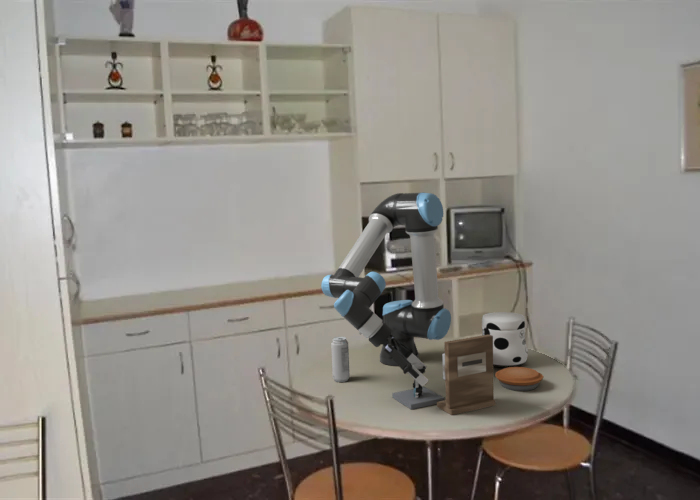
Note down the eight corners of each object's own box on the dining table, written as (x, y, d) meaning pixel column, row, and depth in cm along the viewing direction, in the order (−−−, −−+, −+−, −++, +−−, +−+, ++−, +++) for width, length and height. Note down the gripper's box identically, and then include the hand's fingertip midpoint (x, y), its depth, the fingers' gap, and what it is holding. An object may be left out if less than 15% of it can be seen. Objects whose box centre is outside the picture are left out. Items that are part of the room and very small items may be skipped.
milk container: (537, 364, 231) (537, 316, 229) (505, 373, 222) (505, 323, 220) (502, 354, 245) (501, 309, 243) (470, 363, 236) (469, 316, 234)
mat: (392, 397, 202) (392, 393, 202) (424, 391, 207) (424, 386, 207) (411, 409, 191) (410, 404, 191) (444, 402, 196) (444, 397, 196)
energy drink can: (339, 376, 226) (337, 335, 224) (353, 378, 222) (351, 337, 221) (329, 381, 221) (327, 339, 219) (343, 383, 218) (341, 341, 216)
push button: (424, 399, 195) (424, 368, 194) (407, 398, 196) (406, 367, 195) (427, 392, 201) (426, 362, 200) (410, 391, 202) (409, 361, 201)
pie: (515, 396, 199) (514, 381, 198) (486, 382, 213) (485, 368, 213) (553, 388, 205) (553, 373, 204) (522, 375, 219) (522, 361, 219)
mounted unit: (434, 405, 194) (432, 337, 192) (477, 395, 200) (475, 330, 198) (451, 415, 185) (450, 344, 183) (495, 405, 192) (494, 336, 189)
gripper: (369, 329, 210) (415, 372, 211) (365, 349, 186) (417, 398, 186) (384, 313, 209) (431, 356, 210) (382, 331, 185) (435, 380, 185)
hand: (424, 376), depth 198 cm, fingers open, 13 cm apart
